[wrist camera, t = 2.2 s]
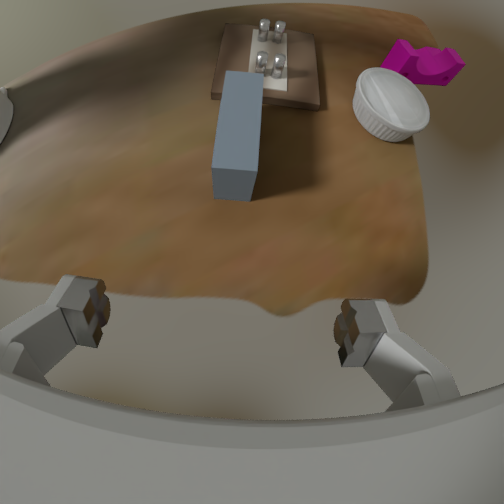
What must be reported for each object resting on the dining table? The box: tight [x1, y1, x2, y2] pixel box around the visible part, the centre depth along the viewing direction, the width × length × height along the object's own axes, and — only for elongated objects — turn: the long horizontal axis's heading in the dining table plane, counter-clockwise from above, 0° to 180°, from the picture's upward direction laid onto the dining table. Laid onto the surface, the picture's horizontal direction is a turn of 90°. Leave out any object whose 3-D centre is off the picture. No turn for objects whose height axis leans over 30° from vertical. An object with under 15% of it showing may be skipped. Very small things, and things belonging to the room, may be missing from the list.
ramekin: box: [353, 67, 430, 142], centre depth 35 cm, size 11×11×5 cm
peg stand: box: [211, 19, 320, 111], centre depth 35 cm, size 14×16×6 cm
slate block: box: [212, 71, 264, 202], centre depth 31 cm, size 4×12×8 cm, turn 177°
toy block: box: [380, 39, 465, 86], centre depth 38 cm, size 15×6×8 cm, turn 107°
